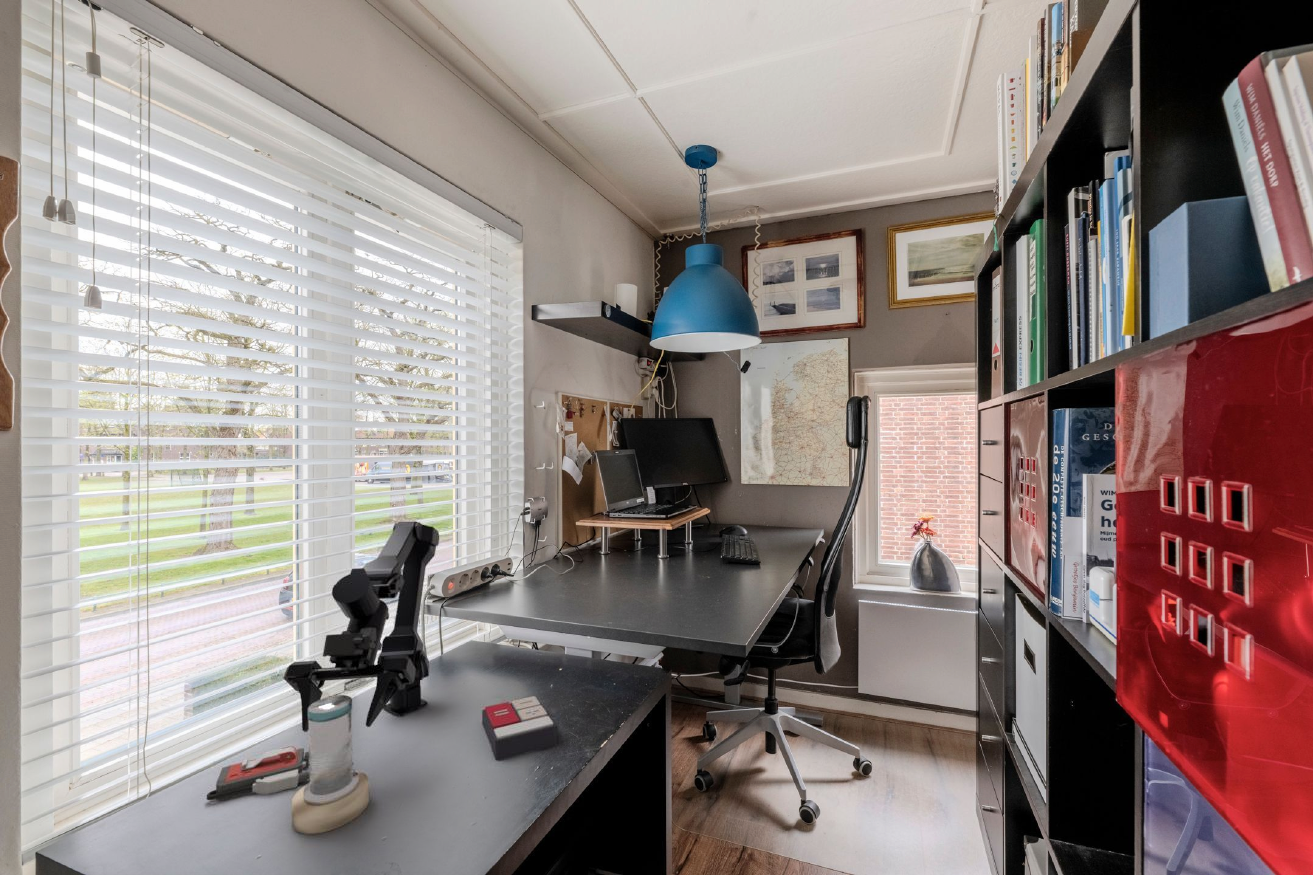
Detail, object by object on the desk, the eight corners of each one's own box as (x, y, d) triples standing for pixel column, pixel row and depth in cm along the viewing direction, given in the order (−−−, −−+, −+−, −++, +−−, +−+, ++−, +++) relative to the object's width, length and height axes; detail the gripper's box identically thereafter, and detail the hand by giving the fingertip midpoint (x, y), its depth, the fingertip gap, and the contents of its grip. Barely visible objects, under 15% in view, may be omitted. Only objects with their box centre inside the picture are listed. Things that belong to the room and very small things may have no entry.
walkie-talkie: (202, 815, 83) (353, 774, 93) (202, 785, 83) (353, 748, 93) (215, 784, 91) (353, 749, 101) (215, 757, 91) (353, 725, 101)
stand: (279, 817, 82) (279, 796, 82) (348, 782, 90) (348, 763, 90) (311, 843, 76) (311, 821, 76) (382, 803, 84) (381, 783, 84)
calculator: (536, 693, 114) (557, 721, 100) (537, 714, 114) (557, 745, 100) (481, 705, 109) (495, 736, 96) (482, 727, 109) (495, 762, 95)
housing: (303, 786, 84) (301, 701, 84) (356, 770, 88) (354, 688, 88) (303, 812, 78) (302, 720, 78) (361, 793, 82) (359, 705, 82)
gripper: (288, 612, 89) (247, 714, 78) (408, 606, 92) (385, 704, 81) (314, 643, 97) (279, 740, 86) (424, 637, 99) (404, 730, 88)
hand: (336, 728), depth 85 cm, fingers open, 9 cm apart
